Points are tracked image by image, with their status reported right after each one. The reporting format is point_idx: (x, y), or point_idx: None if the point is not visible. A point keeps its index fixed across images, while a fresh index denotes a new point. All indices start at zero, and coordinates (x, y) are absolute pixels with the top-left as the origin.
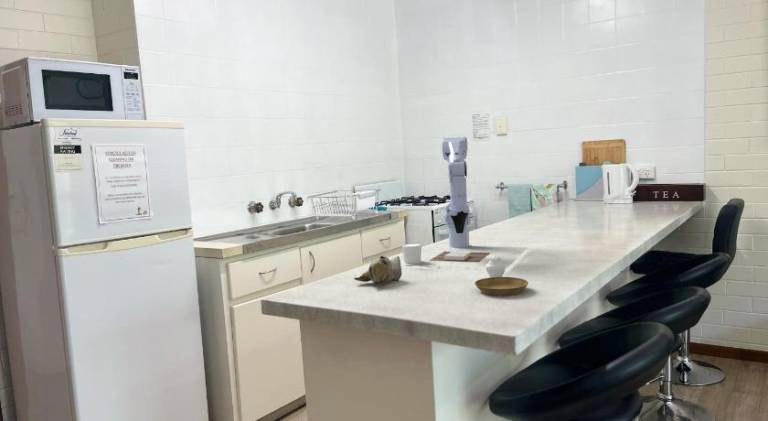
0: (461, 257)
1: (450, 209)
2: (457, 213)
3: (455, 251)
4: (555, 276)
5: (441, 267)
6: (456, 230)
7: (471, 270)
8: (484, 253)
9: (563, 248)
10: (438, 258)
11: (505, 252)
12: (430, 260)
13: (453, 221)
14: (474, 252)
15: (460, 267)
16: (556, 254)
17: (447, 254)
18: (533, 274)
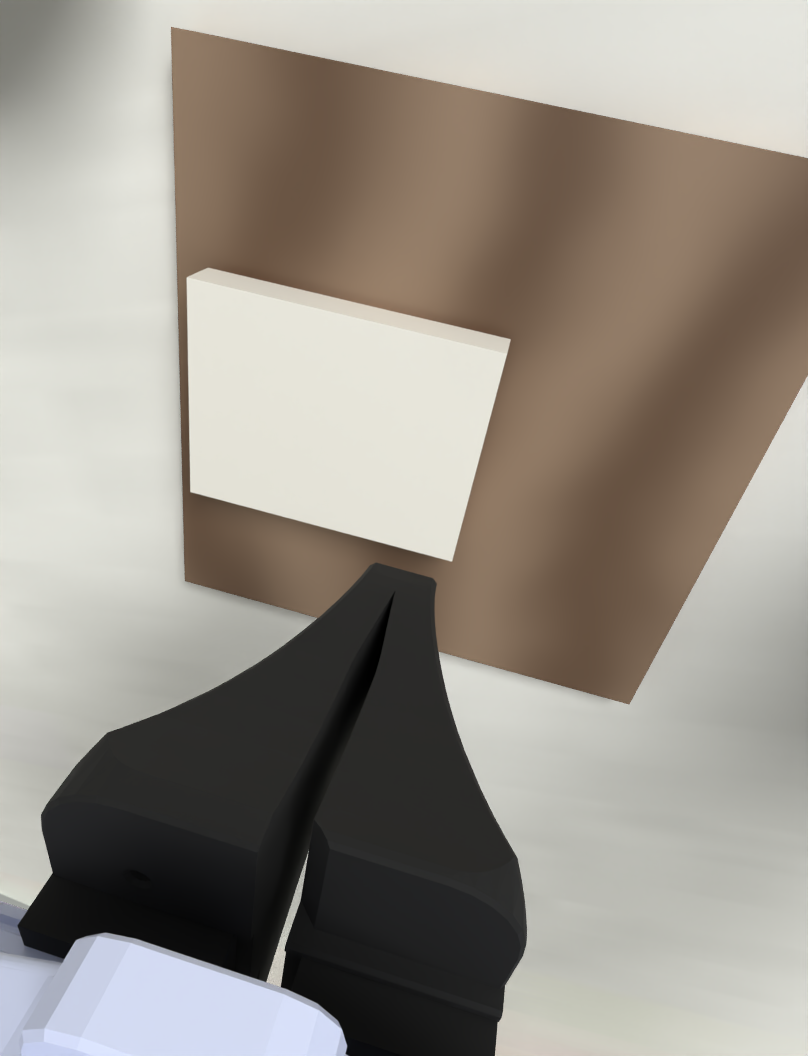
0: (195, 464)
1: (26, 999)
2: (23, 946)
3: (491, 399)
4: (23, 835)
5: (25, 244)
6: (349, 592)
7: (5, 508)
8: (594, 653)
9: (789, 1049)
10: (323, 162)
11: (750, 790)
12: (177, 56)
13: (227, 683)
14: (679, 576)
15: (79, 428)
16: (578, 974)
17: (283, 308)
18: (29, 780)
